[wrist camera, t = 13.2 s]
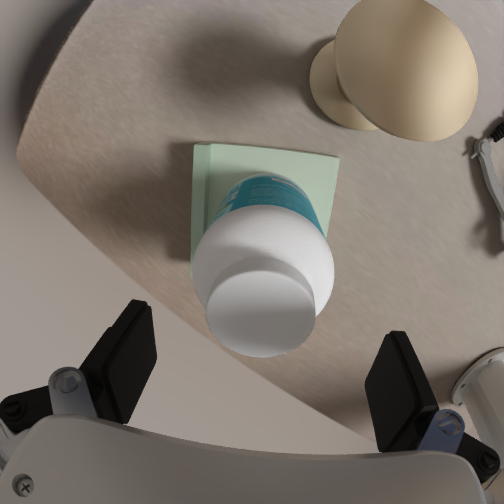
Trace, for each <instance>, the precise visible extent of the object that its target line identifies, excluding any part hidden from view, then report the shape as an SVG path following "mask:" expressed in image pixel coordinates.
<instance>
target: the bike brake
mask: <svg viewBox="0 0 504 504" xmlns="http://www.w3.org/2000/svg"><path fill="white" fill-rule="evenodd" d="M503 137H504V122H502V123H501V124H500V125H499V126H498V127H497V129H496V130H495V131H494V132H493V134H491V139H490V140H489V141H488V142H487V141H485V140H478V141H476V142H475V144H474V151H475V153H474V154H473V155H472V156H470V158H471V159H473V158H474V157H475V156H476V155H477V156H478V159H479V162H480V165H481V169H482V172H483V176H484V179H485V182H486V185H487V187H488V190H489V192H490V194H491V196H492V198H493V200H494V202H495V204H496V206H497V208H498V210H499V212H500V214H501V216H502V218H503V220H504V192H503V190H502V188H501V187H500V185H499V182H498V180H497V177H496V174H495V171H494V167H493V164H492V160H491V157H490V155H491V146H490V143H491V142H492V141H494V142H497V141H499V140H500V139H502V138H503Z"/></svg>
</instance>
